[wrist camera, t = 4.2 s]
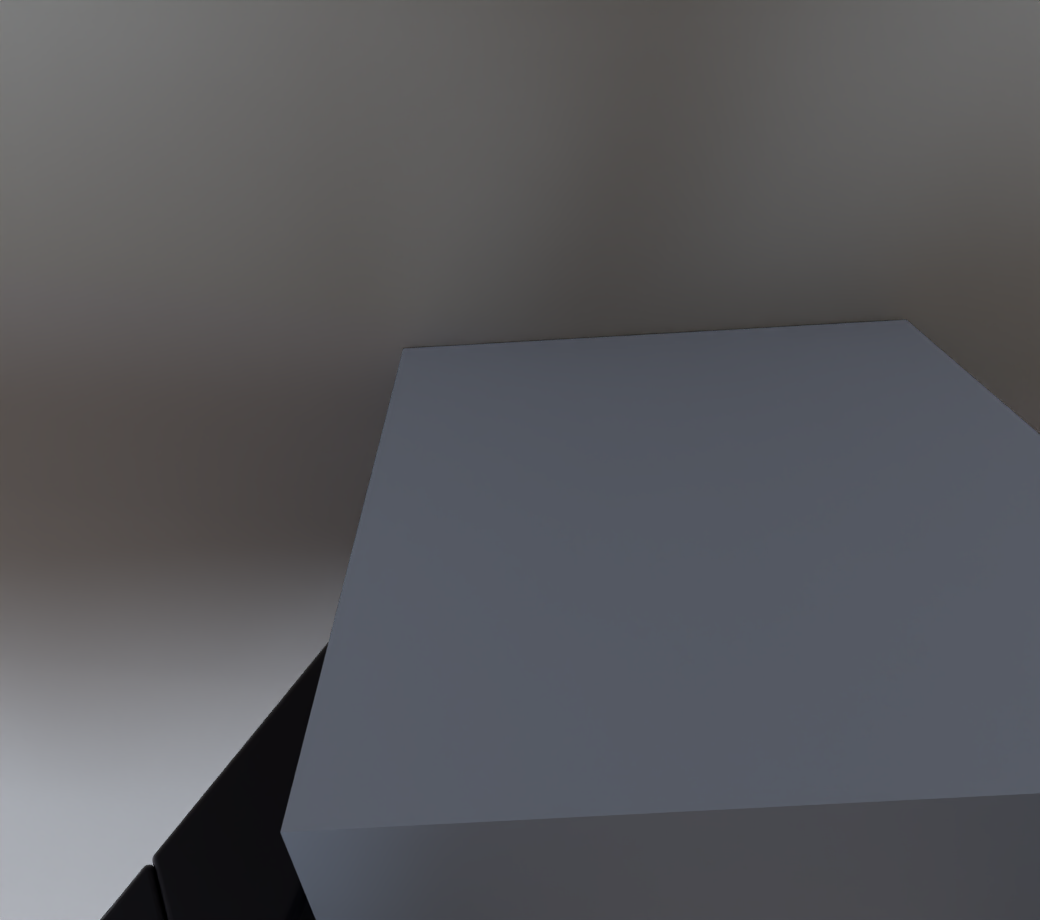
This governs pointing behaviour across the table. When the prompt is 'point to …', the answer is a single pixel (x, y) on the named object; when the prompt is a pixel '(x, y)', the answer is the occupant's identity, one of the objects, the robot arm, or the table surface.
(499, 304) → the table surface
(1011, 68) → the table surface
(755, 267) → the table surface
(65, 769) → the table surface
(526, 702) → the slate blue block
